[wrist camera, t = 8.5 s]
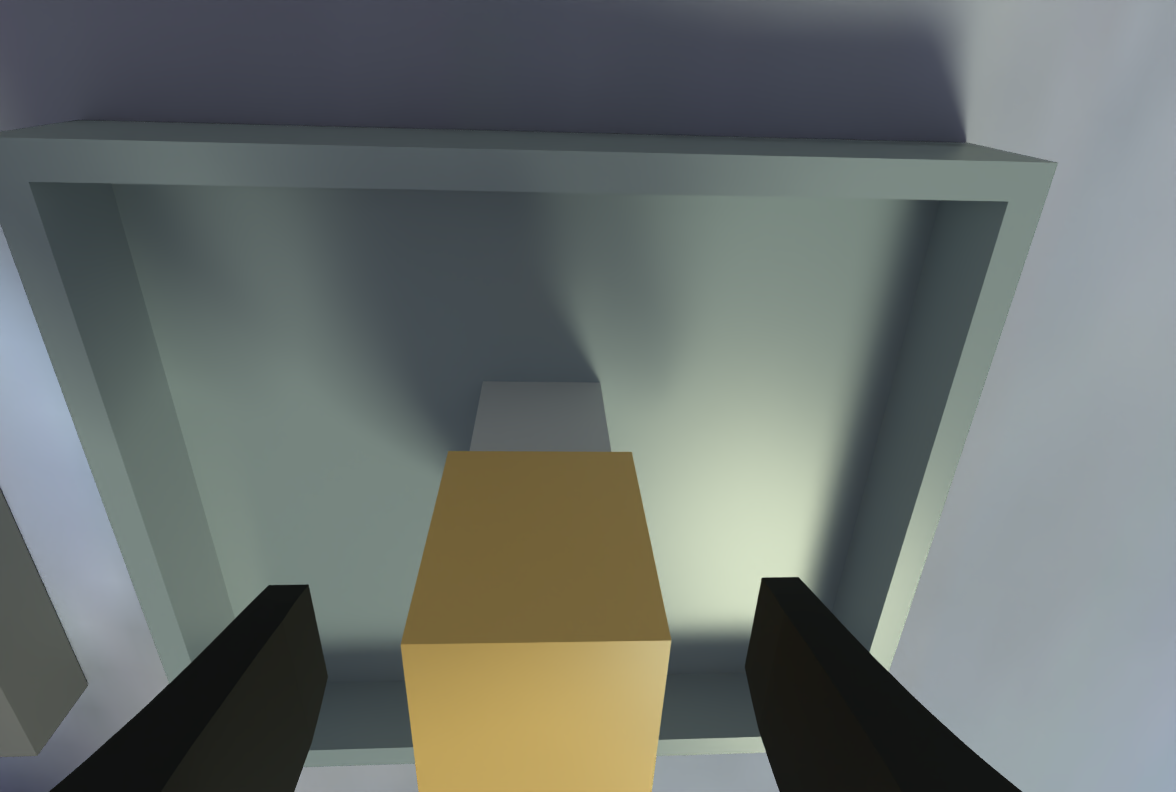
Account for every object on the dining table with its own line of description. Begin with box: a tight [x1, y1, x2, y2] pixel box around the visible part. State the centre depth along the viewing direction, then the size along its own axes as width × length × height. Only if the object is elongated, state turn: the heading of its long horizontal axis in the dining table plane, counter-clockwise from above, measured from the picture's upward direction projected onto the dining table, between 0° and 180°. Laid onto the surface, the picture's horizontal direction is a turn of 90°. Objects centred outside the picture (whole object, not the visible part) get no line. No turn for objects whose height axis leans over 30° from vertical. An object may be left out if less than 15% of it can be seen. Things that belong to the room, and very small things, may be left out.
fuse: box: [401, 381, 671, 792], centre depth 11 cm, size 4×3×7 cm
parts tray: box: [0, 120, 1058, 767], centre depth 14 cm, size 14×16×2 cm
